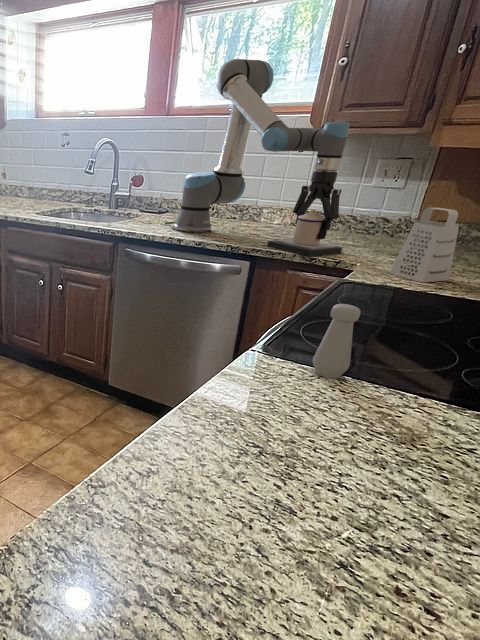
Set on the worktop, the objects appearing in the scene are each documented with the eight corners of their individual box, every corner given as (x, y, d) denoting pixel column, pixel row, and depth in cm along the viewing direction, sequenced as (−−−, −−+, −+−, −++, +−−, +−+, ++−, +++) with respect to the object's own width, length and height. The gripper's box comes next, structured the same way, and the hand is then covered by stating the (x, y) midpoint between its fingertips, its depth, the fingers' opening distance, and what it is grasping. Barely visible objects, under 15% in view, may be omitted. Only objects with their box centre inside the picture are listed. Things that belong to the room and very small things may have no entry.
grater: (422, 282, 153) (447, 212, 145) (389, 273, 162) (410, 207, 154) (448, 280, 156) (474, 211, 148) (414, 271, 165) (436, 206, 157)
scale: (267, 246, 197) (268, 239, 196) (297, 243, 203) (299, 236, 202) (308, 256, 182) (310, 249, 181) (340, 253, 188) (342, 246, 187)
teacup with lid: (320, 246, 186) (329, 213, 181) (291, 244, 189) (299, 210, 184) (318, 240, 195) (327, 208, 190) (291, 238, 199) (299, 206, 194)
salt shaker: (333, 367, 98) (353, 300, 93) (353, 380, 93) (375, 311, 88) (303, 367, 98) (321, 300, 93) (321, 380, 93) (341, 311, 87)
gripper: (291, 168, 189) (277, 231, 198) (347, 173, 171) (329, 242, 180) (306, 168, 192) (291, 230, 201) (363, 173, 173) (344, 241, 183)
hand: (309, 236), depth 190 cm, fingers closed on teacup with lid, 9 cm apart
